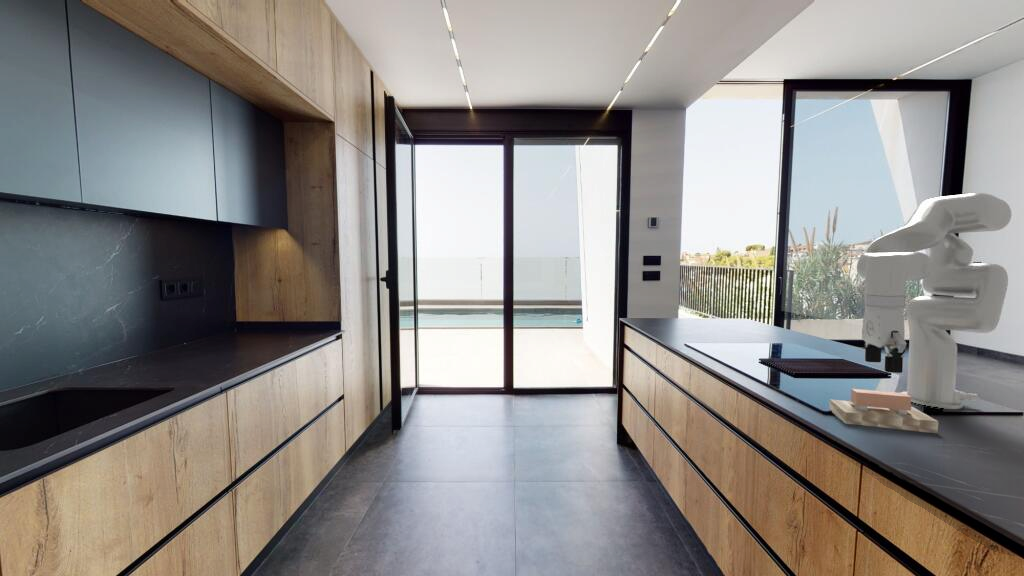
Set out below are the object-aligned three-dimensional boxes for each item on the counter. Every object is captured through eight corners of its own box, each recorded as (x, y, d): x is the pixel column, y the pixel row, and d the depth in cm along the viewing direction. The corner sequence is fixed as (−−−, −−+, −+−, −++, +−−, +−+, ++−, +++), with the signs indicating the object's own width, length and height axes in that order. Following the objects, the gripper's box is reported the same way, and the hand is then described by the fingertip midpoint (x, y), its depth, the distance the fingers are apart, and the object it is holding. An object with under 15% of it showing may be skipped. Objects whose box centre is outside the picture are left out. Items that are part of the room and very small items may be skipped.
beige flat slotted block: (912, 417, 102) (912, 406, 101) (937, 433, 92) (938, 421, 92) (829, 409, 108) (829, 399, 108) (845, 423, 99) (845, 412, 99)
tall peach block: (903, 421, 100) (904, 393, 99) (910, 425, 97) (911, 396, 96) (850, 415, 104) (851, 388, 103) (855, 420, 101) (856, 392, 100)
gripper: (850, 298, 108) (849, 357, 109) (884, 306, 92) (882, 375, 93) (884, 298, 105) (883, 359, 106) (925, 306, 89) (923, 377, 90)
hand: (882, 366), depth 100 cm, fingers open, 9 cm apart
